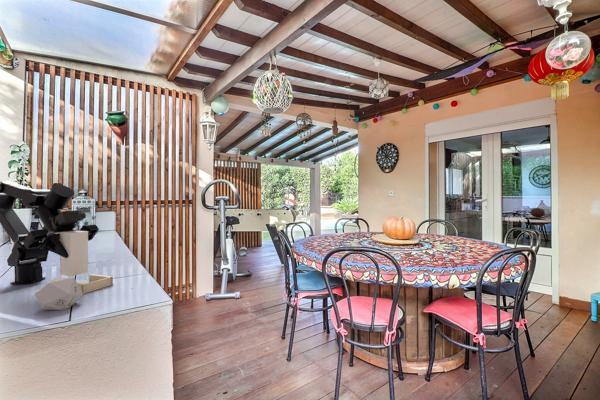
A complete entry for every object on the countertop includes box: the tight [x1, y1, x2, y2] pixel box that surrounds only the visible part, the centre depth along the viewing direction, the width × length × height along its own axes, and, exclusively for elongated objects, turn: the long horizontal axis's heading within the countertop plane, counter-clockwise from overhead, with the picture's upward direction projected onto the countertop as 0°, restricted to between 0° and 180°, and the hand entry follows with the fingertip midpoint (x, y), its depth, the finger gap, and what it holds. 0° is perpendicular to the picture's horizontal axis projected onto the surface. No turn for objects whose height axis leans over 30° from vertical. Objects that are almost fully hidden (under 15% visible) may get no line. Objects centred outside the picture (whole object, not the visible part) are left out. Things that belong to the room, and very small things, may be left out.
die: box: [34, 276, 84, 311], centre depth 72 cm, size 8×9×10 cm
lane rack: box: [75, 273, 115, 295], centre depth 89 cm, size 16×10×3 cm, turn 70°
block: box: [59, 230, 89, 277], centre depth 90 cm, size 5×5×13 cm
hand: (77, 255), depth 89 cm, fingers closed on block, 5 cm apart
